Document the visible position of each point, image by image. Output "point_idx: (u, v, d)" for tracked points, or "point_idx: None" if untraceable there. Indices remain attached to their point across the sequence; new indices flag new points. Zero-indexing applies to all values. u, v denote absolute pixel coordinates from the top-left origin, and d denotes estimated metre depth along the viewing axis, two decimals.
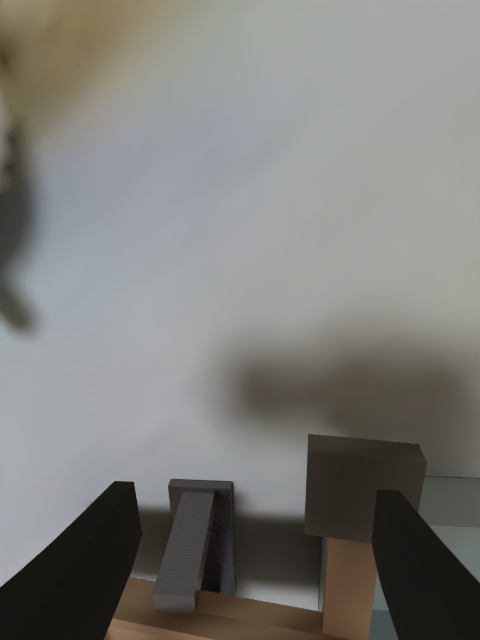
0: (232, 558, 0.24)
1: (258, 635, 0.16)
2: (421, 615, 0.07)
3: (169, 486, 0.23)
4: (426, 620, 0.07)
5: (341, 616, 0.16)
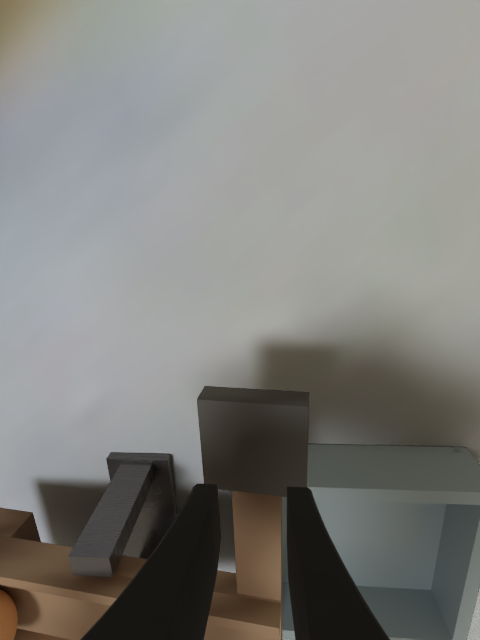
0: None
1: None
2: (300, 608, 0.08)
3: (107, 459, 0.23)
4: (301, 612, 0.07)
5: (253, 575, 0.16)
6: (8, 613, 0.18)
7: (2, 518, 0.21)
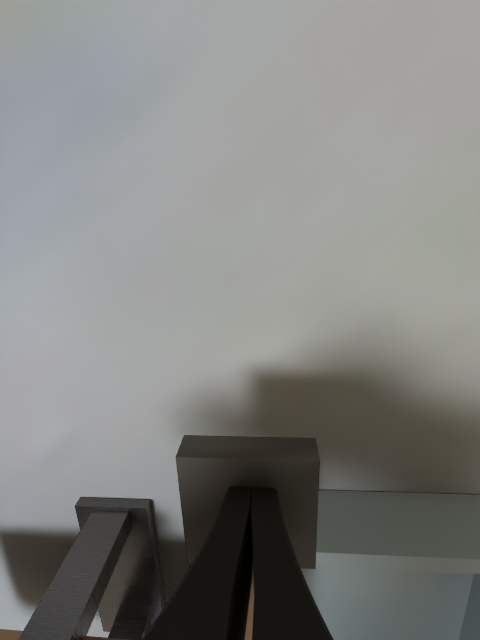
0: (158, 588, 0.21)
1: None
2: None
3: (76, 506, 0.19)
4: None
5: None
6: None
7: None
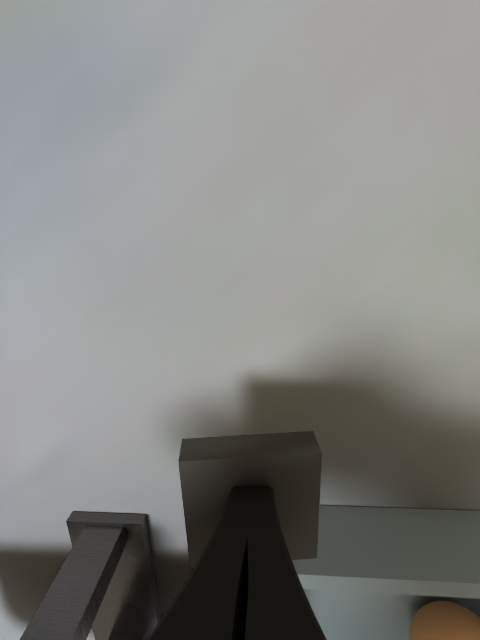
0: (154, 606, 0.20)
1: None
2: None
3: (68, 521, 0.18)
4: None
5: None
6: None
7: None
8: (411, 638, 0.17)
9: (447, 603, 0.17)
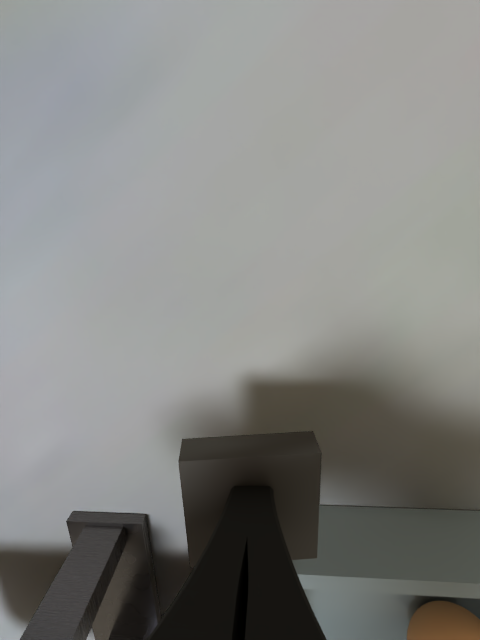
0: (154, 606, 0.20)
1: None
2: None
3: (68, 521, 0.18)
4: None
5: None
6: None
7: None
8: (409, 636, 0.17)
9: (446, 603, 0.17)
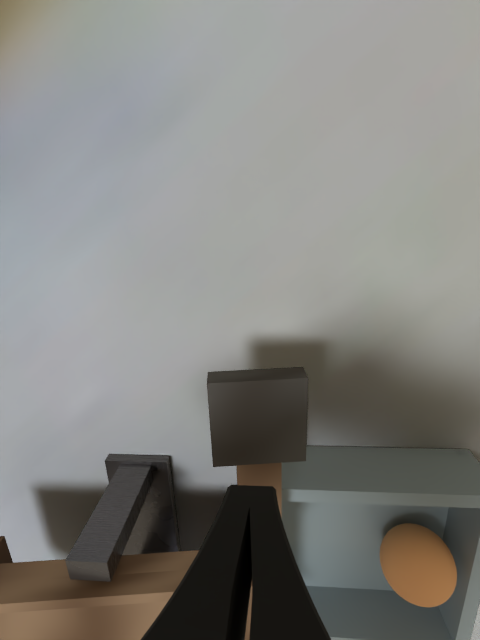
0: (175, 535, 0.24)
1: (181, 580, 0.17)
2: None
3: (106, 461, 0.23)
4: None
5: None
6: (452, 557, 0.20)
7: None
8: (381, 547, 0.21)
9: (412, 523, 0.21)
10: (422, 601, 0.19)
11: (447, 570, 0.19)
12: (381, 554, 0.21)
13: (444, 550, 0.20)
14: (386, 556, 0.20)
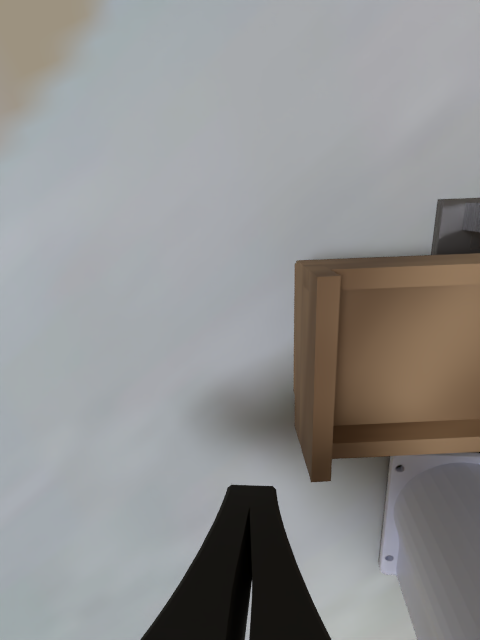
0: None
1: None
2: None
3: (445, 200, 0.16)
4: None
5: None
6: None
7: None
8: None
9: None
10: None
11: None
12: None
13: None
14: None
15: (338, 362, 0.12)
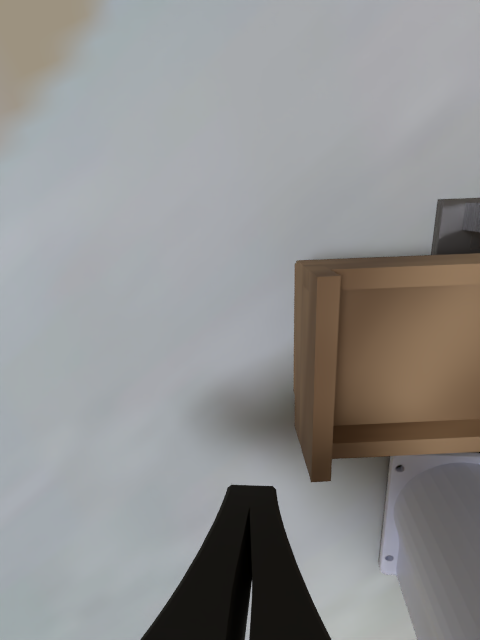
0: None
1: None
2: None
3: (445, 200, 0.16)
4: None
5: None
6: None
7: None
8: None
9: None
10: None
11: None
12: None
13: None
14: None
15: (338, 362, 0.12)
